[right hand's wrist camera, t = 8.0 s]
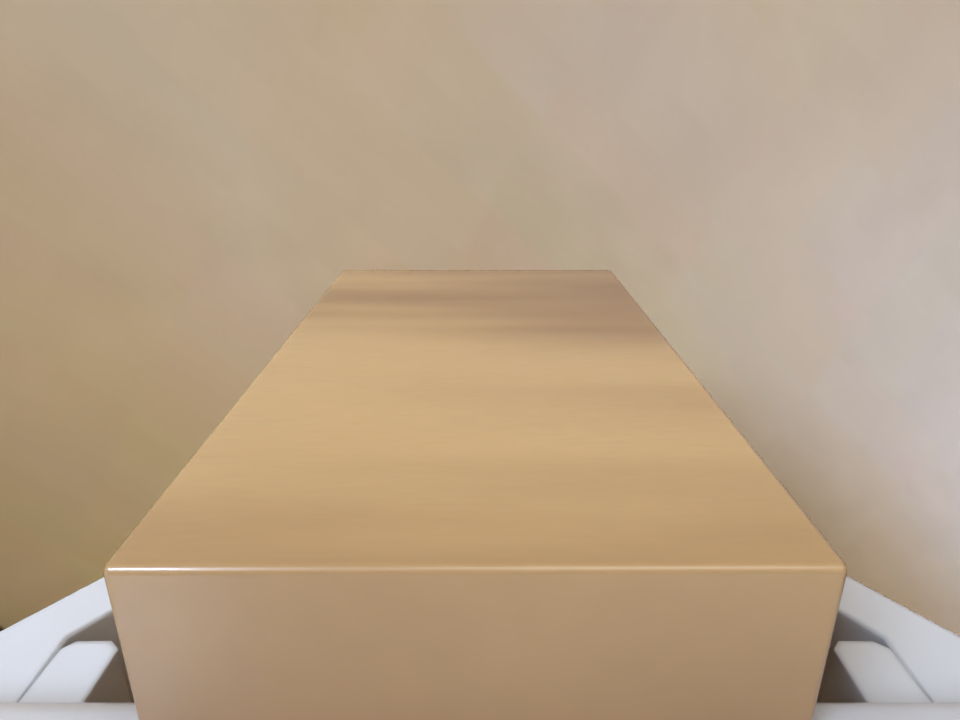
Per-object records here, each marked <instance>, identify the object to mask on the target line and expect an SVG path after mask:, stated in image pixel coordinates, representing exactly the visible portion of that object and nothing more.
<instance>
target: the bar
mask: <svg viewBox="0 0 960 720" xmlns="http://www.w3.org/2000/svg"><path fill="white" fill-rule="evenodd" d="M103 575H104V579H105V583H106V587H107V591H108V595H109V599H110V603H111V608H112V612H113V616H114V620H115V624H116V628H117V632H118V636H119V640H120V645H121V649H122V653H123V657H124V661H125V665H126V669H127V673H128V678H129V682H130V686H131V690H132V694H133V698H134V702H135V706H136V710H137V715H138V719H139V720H812V719H813V715H814V711H815V706H816V702H817V698H818V694H819V690H820V685H821V681H822V677H823V673H824V669H825V664H826V660H827V656H828V652H829V647H830V643H831V639H832V635H833V631H834V626H835V622H836V618H837V614H838V609H839V605H840V601H841V597H842V593H843V588H844V584H845V580H846V576H847V567H846V564H845V562H844V561H843V560H842V558H841V557H840V556H839V555H838V553H837V552H836V551H835V550H834V548H833V547H832V546H831V545H830V543H829V542H828V541H827V540H826V538H825V537H824V536H823V535H822V533H821V532H820V531H819V530H818V528H817V527H816V526H815V525H814V523H813V522H812V521H811V520H810V518H809V517H808V516H807V515H806V513H805V512H804V511H803V510H802V508H801V507H800V506H799V505H798V504H797V502H796V501H795V500H794V499H793V497H792V496H791V495H790V494H789V492H788V491H787V490H786V489H785V487H784V486H783V485H782V484H781V482H780V481H779V480H778V479H777V477H776V476H775V475H774V474H773V472H772V471H771V470H770V469H769V467H768V466H767V465H766V464H765V462H764V461H763V460H762V459H761V457H760V456H759V455H758V454H757V452H756V451H755V450H754V449H753V447H752V446H751V445H750V444H749V442H748V441H747V440H746V439H745V437H744V436H743V435H742V434H741V432H740V431H739V430H738V429H737V427H736V426H735V425H734V424H733V422H732V421H731V420H730V419H729V417H728V416H727V415H726V414H725V412H724V411H723V410H722V409H721V408H720V406H719V405H718V404H717V403H716V401H715V400H714V399H713V398H712V396H711V395H710V394H709V393H708V391H707V390H706V389H705V388H704V386H703V385H702V384H701V383H700V381H699V380H698V379H697V378H696V376H695V375H694V374H693V373H692V371H691V370H690V369H689V368H688V366H687V365H686V364H685V363H684V361H683V360H682V359H681V358H680V356H679V355H678V354H677V353H676V351H675V350H674V349H673V348H672V346H671V345H670V344H669V343H668V341H667V340H666V339H665V338H664V336H663V335H662V334H661V333H660V331H659V330H658V329H657V328H656V326H655V325H654V324H653V323H652V321H651V320H650V319H649V318H648V317H647V315H646V314H645V313H644V312H643V310H642V309H641V308H640V307H639V305H638V304H637V303H636V302H635V300H634V299H633V298H632V297H631V295H630V294H629V293H628V292H627V290H626V289H625V288H624V287H623V285H622V284H621V283H620V282H619V280H618V279H617V278H616V277H615V275H614V274H613V273H612V272H611V271H610V270H344V271H342V272H341V274H340V275H339V276H338V277H337V279H336V280H335V281H334V282H333V284H332V285H331V286H330V287H329V288H328V290H327V291H326V292H325V293H324V295H323V296H322V297H321V298H320V300H319V301H318V302H317V303H316V305H315V306H314V307H313V308H312V310H311V311H310V312H309V313H308V314H307V316H306V317H305V318H304V319H303V321H302V322H301V323H300V324H299V326H298V327H297V328H296V329H295V331H294V332H293V333H292V334H291V336H290V337H289V338H288V339H287V340H286V342H285V343H284V344H283V345H282V347H281V348H280V349H279V350H278V352H277V353H276V354H275V355H274V357H273V358H272V359H271V360H270V362H269V363H268V364H267V365H266V366H265V368H264V369H263V370H262V371H261V373H260V374H259V375H258V376H257V378H256V379H255V380H254V381H253V383H252V384H251V385H250V386H249V388H248V389H247V390H246V391H245V392H244V394H243V395H242V396H241V397H240V399H239V400H238V401H237V402H236V404H235V405H234V406H233V407H232V409H231V410H230V411H229V412H228V414H227V415H226V416H225V417H224V418H223V420H222V421H221V422H220V423H219V425H218V426H217V427H216V428H215V430H214V431H213V432H212V433H211V435H210V436H209V437H208V438H207V440H206V441H205V442H204V443H203V445H202V446H201V447H200V448H199V449H198V451H197V452H196V453H195V454H194V456H193V457H192V458H191V459H190V461H189V462H188V463H187V464H186V466H185V467H184V468H183V469H182V471H181V472H180V473H179V474H178V475H177V477H176V478H175V479H174V480H173V482H172V483H171V484H170V485H169V487H168V488H167V489H166V490H165V492H164V493H163V494H162V495H161V497H160V498H159V499H158V500H157V501H156V503H155V504H154V505H153V506H152V508H151V509H150V510H149V511H148V513H147V514H146V515H145V516H144V518H143V519H142V520H141V521H140V523H139V524H138V525H137V526H136V527H135V529H134V530H133V531H132V532H131V534H130V535H129V536H128V537H127V539H126V540H125V541H124V542H123V544H122V545H121V546H120V547H119V549H118V550H117V551H116V552H115V553H114V555H113V556H112V557H111V558H110V560H109V561H108V562H107V563H106V565H105V568H104V574H103Z"/></svg>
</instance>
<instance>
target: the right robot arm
mask: <svg viewBox="0 0 960 720" xmlns="http://www.w3.org/2000/svg"><path fill="white" fill-rule="evenodd" d="M0 720H139V719H138V715H137V710H136V706H135V702H134V698H133V694H132V690H131V686H130V682H129V678H128V673H127V669H126V665H125V661H124V657H123V653H122V649H121V645H120V640H119V636H118V632H117V628H116V624H115V620H114V616H113V612H112V608H111V603H110V599H109V595H108V591H107V587H106V583H105V579H104V577H103V578H101V579H99V580H97V581H95V582H94V583H92V584H90V585H88V586H86V587H84V588H82V589H80V590H78V591H76V592H75V593H73V594H71V595H69V596H67V597H65V598H63V599H61V600H59V601H57V602H56V603H54V604H52V605H50V606H48V607H46V608H44V609H42V610H40V611H38V612H37V613H35V614H33V615H31V616H29V617H27V618H25V619H23V620H21V621H19V622H17V623H16V624H14V625H12V626H10V627H8V628H6V629H4V630H2V631H0ZM812 720H960V636H958V635H956V634H954V633H953V632H951V631H949V630H947V629H945V628H943V627H941V626H939V625H938V624H936V623H934V622H932V621H930V620H928V619H926V618H924V617H923V616H921V615H919V614H917V613H915V612H913V611H911V610H909V609H908V608H906V607H904V606H902V605H900V604H898V603H896V602H894V601H892V600H891V599H889V598H887V597H885V596H883V595H881V594H879V593H877V592H876V591H874V590H872V589H870V588H868V587H866V586H864V585H862V584H861V583H859V582H857V581H855V580H853V579H851V578H849V577H847V576H846V580H845V584H844V588H843V593H842V597H841V601H840V605H839V609H838V614H837V618H836V622H835V626H834V631H833V635H832V639H831V643H830V647H829V652H828V656H827V660H826V664H825V669H824V673H823V677H822V681H821V685H820V690H819V694H818V698H817V702H816V706H815V711H814V715H813V719H812Z"/></svg>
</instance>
